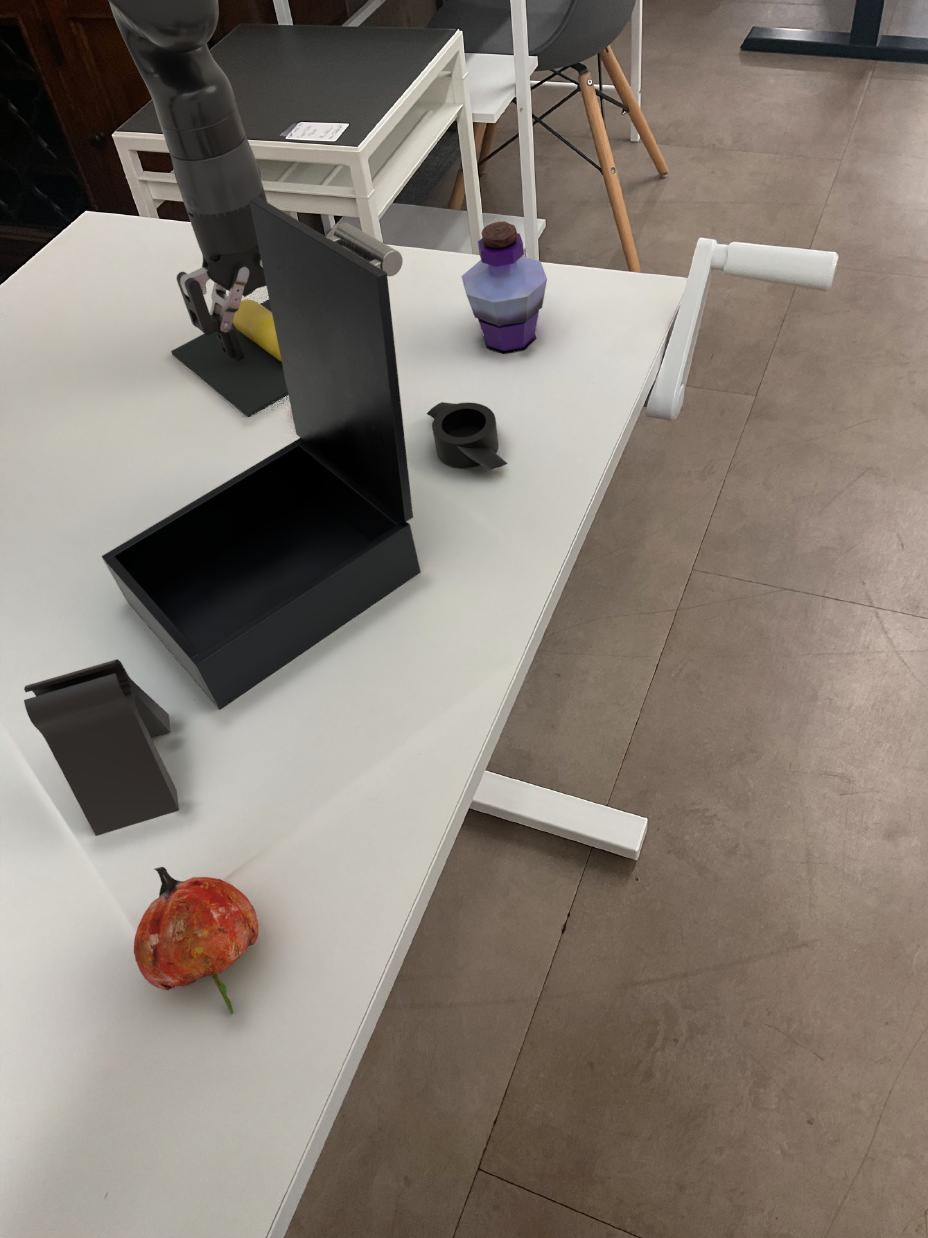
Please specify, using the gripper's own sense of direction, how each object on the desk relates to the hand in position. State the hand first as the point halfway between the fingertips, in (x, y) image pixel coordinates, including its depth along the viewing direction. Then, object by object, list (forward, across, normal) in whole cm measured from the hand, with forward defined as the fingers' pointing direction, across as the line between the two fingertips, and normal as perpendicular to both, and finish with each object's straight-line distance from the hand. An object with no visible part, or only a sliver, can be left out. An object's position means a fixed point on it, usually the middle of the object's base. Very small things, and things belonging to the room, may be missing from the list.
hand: (268, 339), depth 107 cm
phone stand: (+1, +36, +38) cm, 53 cm away
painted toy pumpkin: (+2, +39, +54) cm, 67 cm away
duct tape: (+1, -4, +28) cm, 28 cm away
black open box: (+1, +19, +30) cm, 36 cm away
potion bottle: (+1, -18, +18) cm, 25 cm away
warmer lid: (-16, +9, +30) cm, 35 cm away
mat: (+1, 0, 0) cm, 1 cm away
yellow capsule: (+1, 0, 0) cm, 1 cm away
